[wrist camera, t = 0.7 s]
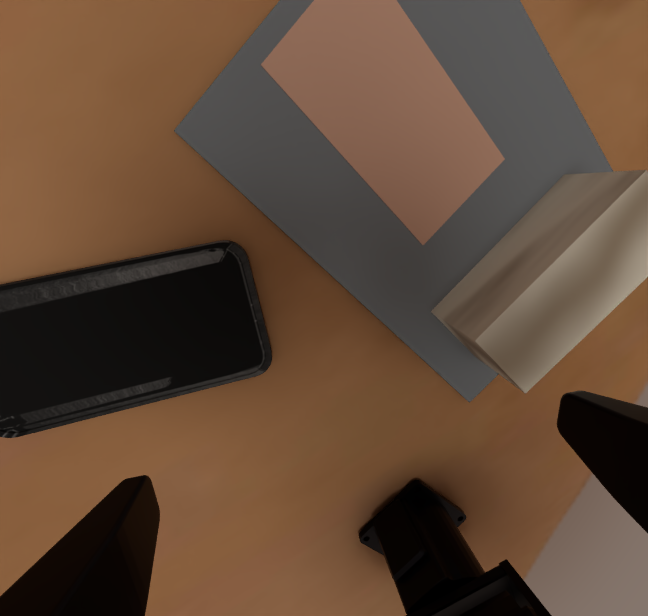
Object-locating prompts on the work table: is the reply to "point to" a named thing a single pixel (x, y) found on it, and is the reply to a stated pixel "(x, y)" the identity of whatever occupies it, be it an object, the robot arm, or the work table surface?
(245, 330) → the phone
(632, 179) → the ash block
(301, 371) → the work table surface
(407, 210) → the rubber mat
